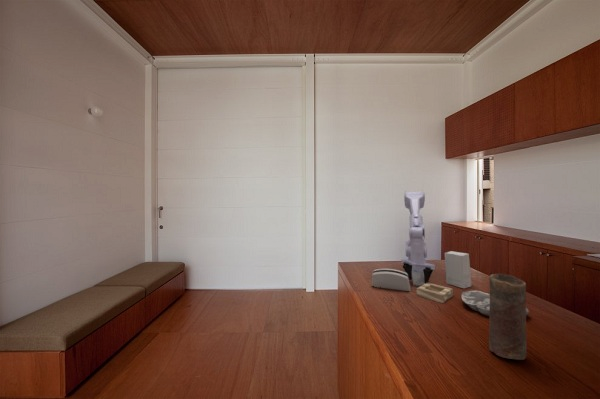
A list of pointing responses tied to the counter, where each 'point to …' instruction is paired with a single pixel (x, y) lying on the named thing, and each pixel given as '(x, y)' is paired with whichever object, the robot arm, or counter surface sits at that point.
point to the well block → (435, 292)
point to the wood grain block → (418, 278)
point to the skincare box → (457, 269)
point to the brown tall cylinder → (507, 317)
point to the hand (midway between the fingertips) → (417, 281)
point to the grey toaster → (391, 279)
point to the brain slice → (479, 301)
